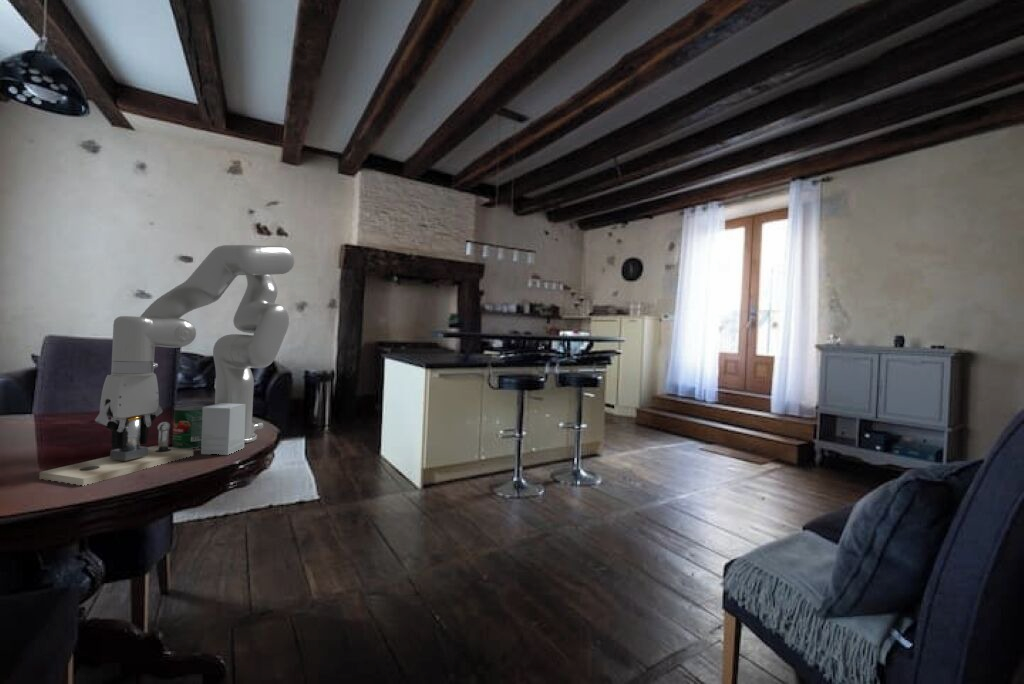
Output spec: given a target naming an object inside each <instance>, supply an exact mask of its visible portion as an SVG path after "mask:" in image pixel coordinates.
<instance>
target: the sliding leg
mask: <svg viewBox="0 0 1024 684" xmlns="http://www.w3.org/2000/svg"><path fill="white" fill-rule="evenodd" d="M123 431H126V447H125V448H124V449H117V448H114V449H111V450H110V454H109V456H110V459H114V460H122V461H127V460H131V459H135V458H139V457H143V456H147V455H148V447H149V446H142V445H141V444H140V431H141V416H136V417H130V418H126V422H125V426H124V430H123Z"/></svg>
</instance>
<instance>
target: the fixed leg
mask: <svg viewBox="0 0 1024 684" xmlns="http://www.w3.org/2000/svg"><path fill="white" fill-rule="evenodd" d="M171 428H172V427H171V423H169V422H168V421H162V422H160V423H158V425H157V430H158V445H157V446H158V451H167V450H168V447H169V442H170V441H169V438H170V434H169V433H170V430H171Z"/></svg>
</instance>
